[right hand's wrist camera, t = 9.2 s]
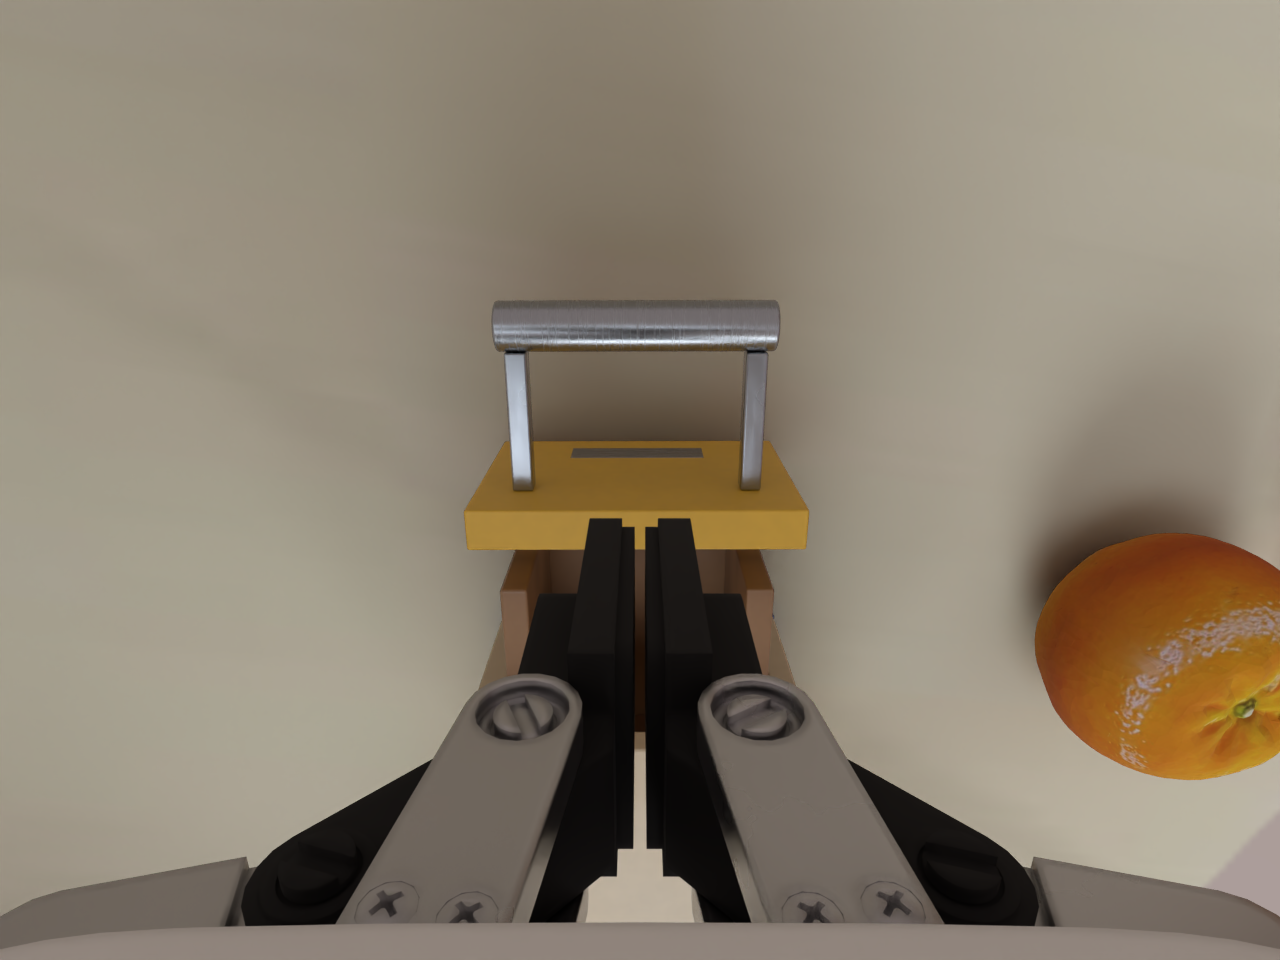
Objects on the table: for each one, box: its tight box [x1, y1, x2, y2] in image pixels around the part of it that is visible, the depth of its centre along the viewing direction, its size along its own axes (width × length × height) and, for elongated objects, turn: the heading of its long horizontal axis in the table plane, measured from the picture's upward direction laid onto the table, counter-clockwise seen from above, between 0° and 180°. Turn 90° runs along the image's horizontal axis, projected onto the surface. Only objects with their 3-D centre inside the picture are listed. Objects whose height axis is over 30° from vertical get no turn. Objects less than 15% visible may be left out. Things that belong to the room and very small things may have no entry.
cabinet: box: [478, 614, 796, 923], centre depth 27 cm, size 13×11×8 cm
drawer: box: [464, 300, 809, 732], centre depth 24 cm, size 17×9×6 cm, turn 0°
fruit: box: [1035, 533, 1280, 780], centre depth 26 cm, size 8×8×8 cm
